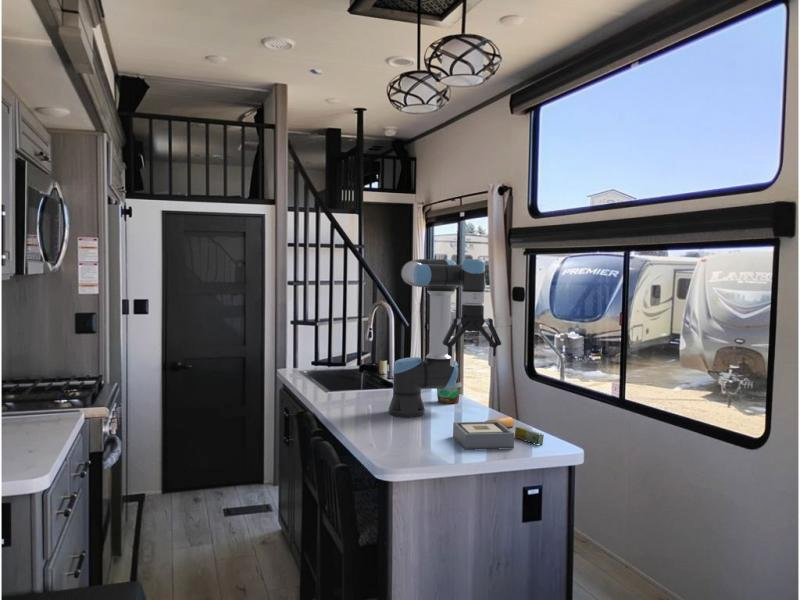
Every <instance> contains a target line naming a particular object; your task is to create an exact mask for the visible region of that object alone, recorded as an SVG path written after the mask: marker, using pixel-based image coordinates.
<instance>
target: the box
mask: <svg viewBox="0 0 800 600" xmlns="http://www.w3.org/2000/svg"><path fill="white" fill-rule="evenodd" d="M452 437H453V438H454V439H455V440H456V442H457V441H458V442H457V443H458V444H459V445H460V446H461V447H462V448H463V450H465V451H479V450H478V449H487V450H500V449H499V448H515V447H514V446H515V432H513V431H512V430H511V429H509V428H507V427H505V426H504V425H503V424H501V423H500V422H499V421H495V422H485V421H462V422H459V421H457V422H453V425H452ZM475 449H477V450H475Z"/></svg>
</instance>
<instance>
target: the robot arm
mask: <svg viewBox="0 0 800 600" xmlns="http://www.w3.org/2000/svg"><path fill="white" fill-rule="evenodd" d="M485 272H486V265H485V261H484V260H483V259H481V258H480V259H478V258H475V259H474V258H467V259H466V258H465V259H464V260H463V261H462V264H458V263H456V261H454V260H452V259H440V258H439V259H437V258H433V259H432V258H431V259H427V258H426V259H424V258H423V259H422V258H419V259H412V260H410V261H407V262H406V263H404V265H403V266H402V268H401V271H400V276H401V278H402V280H403V282H404V283H405V284H407V285H409V286H412V287H417V288H426V292H427V294H429V295H430V302H429V303H430V305H429V306H430V309H429V310H430V313H429V315H430V316H429V352H428V353H427V354H426V357H425V360H423V359H422V358H421V357H420V356H419V357H418V356H417V357H416V356H415V357H404V358H400V359H397V360H395V362H394V363H393V368H392V369H393V370H392V375H393V376H392V379H393V380H392V381H393V382H392V397H391V401H390V403H389V405H388V415H389V416H392V417H396V418H405V419H406V418H407V419H410V418H411V419H412V418H420V417H423V416H425V413H426V412H425V411H426V409H425V405H424V403H423V399H422V390H433V389H434V390H435V389H436V390H437V389H446V388H452V387H453V386H454V385H455V383H457V380H458V375H459V368H458V367H459V364H458V361H456V360H455V348H456V347H454V345H455V344H456V343H457V342H458V340H459V339H460V338H461V337H462V336H463V335H464V333H465V332H474V333H475V332H480V334H481V335H482V336H483V337H484V339H485V340H486V341H487V342H488V344H489V346H488V359H487V360H488V362H487V363H488V366H489V367H494V357H496V354H497V347H498V346H502V341H501V339H500V336H499V335H498V333H497V331H496V327H495V326H494V322H493V321H494V320H493V318H491V317H488V318H485V317H484V313H485V310H484V309H485V308H484V307H485V306H484V305H483V304H484V303H485V276H486V274H485ZM459 287H461V288H462V289H461V294H462V295H461V303H462V305H461V318H457V317H453V318H452V314H451V313H452V311H451V310H452V295H453V294H455V292H456V291H455V290H456V289H457V288H459ZM459 324H461V327H460V328H459V330H458V331H457V332H456V334H455V335H454V336H453V334H454V332H455V330H456V328H457V327H458V325H459ZM484 324H486V326H488V329H489V331H490V333H491V336H492V337H493V339H492V337H491V336H490V335H489V333H488V332H487V331H486V330H485V328H484V327H483V326H484Z"/></svg>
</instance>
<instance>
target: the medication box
mask: <svg viewBox="0 0 800 600" xmlns="http://www.w3.org/2000/svg"><path fill="white" fill-rule="evenodd" d="M514 430H515V431H514V438H515V437H516V439H518V438H520V439H519V440H521V439H523V440H522V441H524V440H526V441H529V442H532V443H535V444H544V434H543V433H540V432H537V431H534V430H531V429H529V428H525V427H523V426H515V429H514ZM526 441H525V442H526ZM529 442H528V443H529ZM532 443H531V444H532ZM535 444H534V445H535Z"/></svg>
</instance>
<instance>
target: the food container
mask: <svg viewBox="0 0 800 600" xmlns="http://www.w3.org/2000/svg"><path fill="white" fill-rule="evenodd" d="M462 387H463V384H462V382H461V381H460V382H456V383H455V385H454V386H453V387H452V388H446V389H436V396H437V403H439V404H442V405H457V404H459V400H460V395H461V388H462Z"/></svg>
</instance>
